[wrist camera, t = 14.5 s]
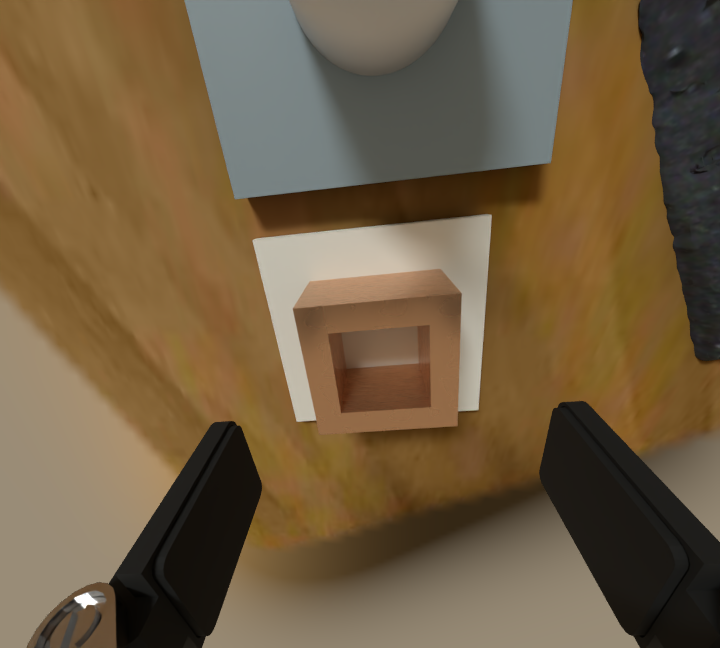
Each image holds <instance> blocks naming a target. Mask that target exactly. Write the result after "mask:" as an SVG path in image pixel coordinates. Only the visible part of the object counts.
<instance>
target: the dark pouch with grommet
mask: <svg viewBox="0 0 720 648" xmlns="http://www.w3.org/2000/svg"><path fill="white" fill-rule="evenodd" d="M639 27H640V30H641V33H642V42H641V52H640V59H641V66H642V70H643V74H644V77H645V79H646V82H647V84H648V87H649V92H650V93H651V94H652V96H653V100H654V111H653V117H652V125H653V127H654V129H655V147H656V150H657V152H658V154H659V156H660V175H661V181H662V186H663V195H664V204H665V206H666V208H667V219H668V223H669V226H670V230H671V233H672V235H673V236H674V241H673V249H674V251H675V253H676V259H677V269H678V272H679V275H680V279H681V282H682V291H683V295H684V298H685V302H686V305H687V315H688V318H689V321H690V336H691V339H692V341H693V344H694V351H695V356H696V357H697V358H698V359H700V360H704V361H709V360H718V359H720V0H641V2H640V8H639Z"/></svg>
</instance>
